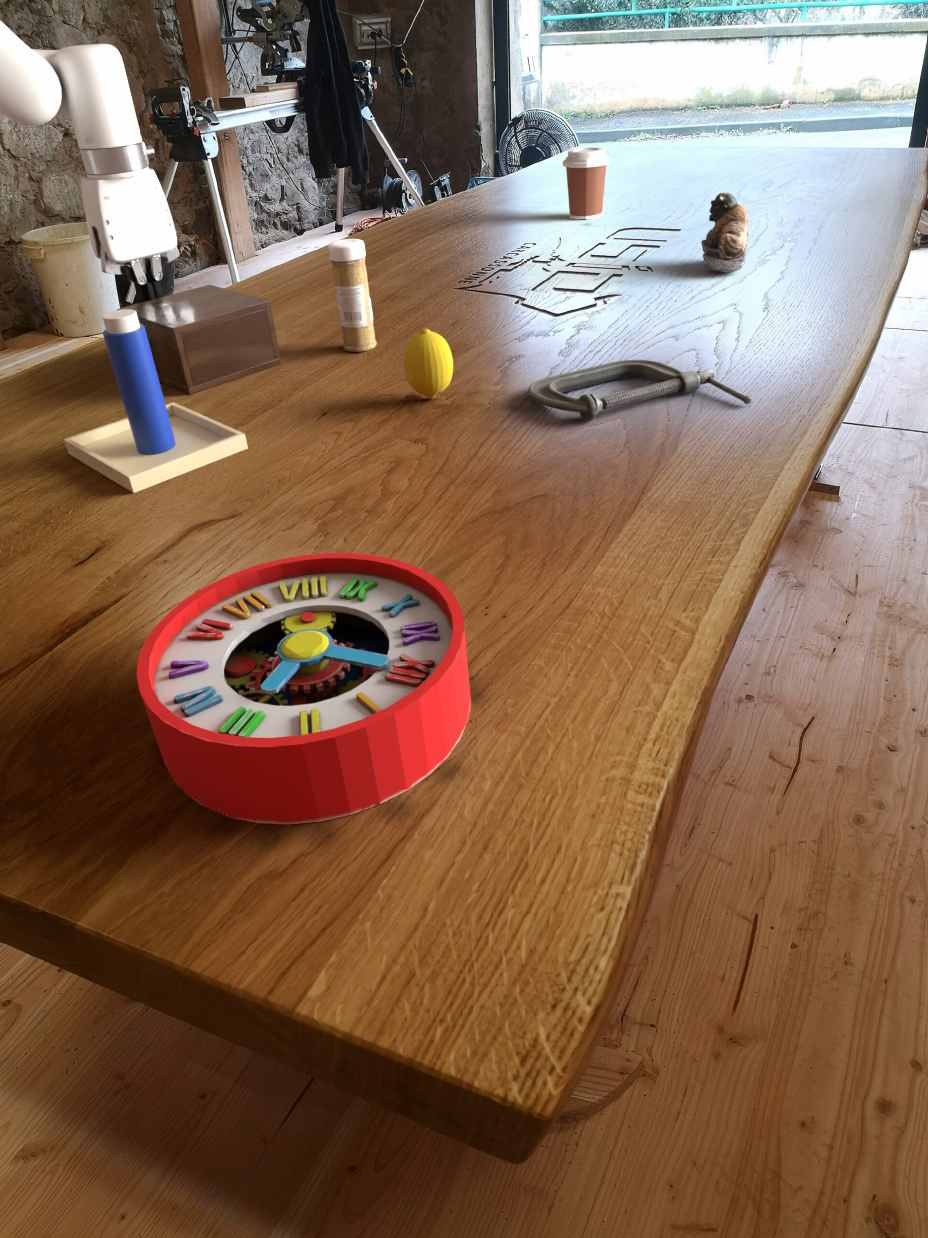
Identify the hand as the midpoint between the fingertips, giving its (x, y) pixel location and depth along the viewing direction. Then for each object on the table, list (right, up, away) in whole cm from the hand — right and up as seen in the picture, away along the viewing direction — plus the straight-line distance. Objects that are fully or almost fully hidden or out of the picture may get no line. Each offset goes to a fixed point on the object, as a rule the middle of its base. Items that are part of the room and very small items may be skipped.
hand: (154, 310), depth 122 cm
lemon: (+39, -17, -19) cm, 46 cm away
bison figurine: (+83, +13, +20) cm, 86 cm away
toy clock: (+33, -48, -63) cm, 86 cm away
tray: (+9, -24, -26) cm, 37 cm away
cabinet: (+8, -9, -4) cm, 13 cm away
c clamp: (+60, -18, -23) cm, 67 cm away
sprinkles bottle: (+28, -6, -1) cm, 29 cm away
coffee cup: (+67, +39, +59) cm, 97 cm away
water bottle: (+9, -24, -27) cm, 37 cm away
